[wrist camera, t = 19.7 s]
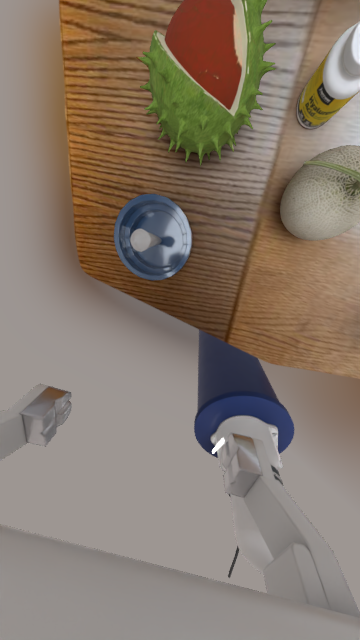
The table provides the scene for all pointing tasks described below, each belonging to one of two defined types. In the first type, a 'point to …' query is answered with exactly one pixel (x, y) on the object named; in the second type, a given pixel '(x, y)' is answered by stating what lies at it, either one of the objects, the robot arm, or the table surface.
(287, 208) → the fruit
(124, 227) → the bowl
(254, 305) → the table surface
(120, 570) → the robot arm
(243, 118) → the chestnut
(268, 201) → the table surface
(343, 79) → the supplement bottle
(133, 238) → the pen
